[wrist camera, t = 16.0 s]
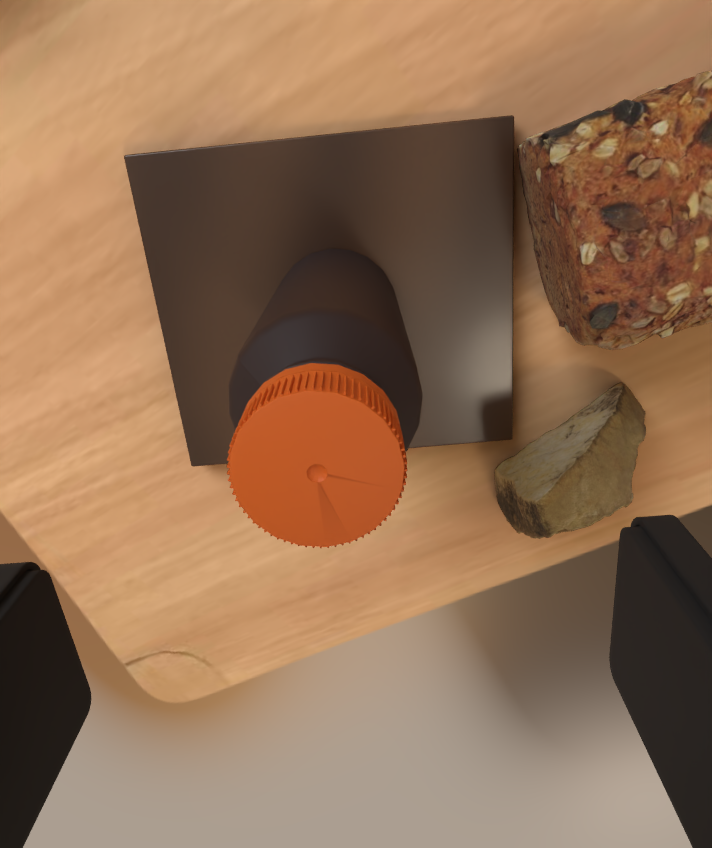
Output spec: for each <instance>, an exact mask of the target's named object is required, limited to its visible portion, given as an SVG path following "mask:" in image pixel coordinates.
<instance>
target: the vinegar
mask: <svg viewBox="0 0 712 848" xmlns="http://www.w3.org/2000/svg"><path fill="white" fill-rule="evenodd" d="M228 393H229V415H230V418H231V420H232V423H233V426H234V429H235V433H234V435H233V437H232V441H231V443H230V445H229V446H230V449H229V451H228V454H229V456H228V458H227V461H229V462H228V464H227V468H229V470H228V472H227V474H228V475H230V477H229V480H228V481H230V482H231V486H230V488H233V489H234V491H233V493H232V494H233V495H235V494H236V500H235V501H238V502H239V504H240V505H239V507H242V508H243V509H244V511H243V513H245V512H246V513H247V514H248V518H251V519H252V520H253V523H256V524H257V525H259V527H258V528H260V527H262V528H263V529H265V530H264V532H266V531H268V532H269V533H270V534H271V536H272V535H273V536H275V537H277V539H279V538H280V539H283V540H284V542H286V541H289V542H291V544H293V543H295V544H298V546H300V545H303V546H305V547H307V546H312V547H313V548H314V547H315V546H320V548H322V547H328V548H329V546H333V545H334V546H335V547H336V545H337V544H342V545H343V544H344V543H346V542H349V543H350V542H351V541H353V540H356V541H357V538H359V537H362V538H364V535H365V534H366V533H368V534H370V531H372V530H376V527H377V526H378V525H380V526H381V522H382V521H383V520H384V521H386V517H387V516H388V515H389V516H391V512H392V510H395V504H399V502H398V498H402V496H401V491H402V492H403V491H404V487H403V485H406V482H405V478H407V474H406V471H407V465H406V464H407V460H406V451H407V450H408V447H409V445H410V443H411V441H412V439H413V437H414V435H415V433H416V431H417V429H418V427H419V424H420V416H421V407H422V398H423V392H422V388H421V384H420V379H419V375H418V370H417V366H416V362H415V359H414V356H413V352H412V349H411V345H410V342H409V339H408V335H407V332H406V329H405V325H404V322H403V318H402V315H401V312H400V308H399V305H398V302H397V298H396V295H395V292H394V288H393V286H392V284H391V283H390V281H389V279H388V278H387V276H386V274H385V273H384V271H383V270H382V269H381V268H380V267H379V266H378V265H376V264H375V263H374V262H373V261H372V260H371V259H369V258H368V257H366V256H363V255H361V254H359V253H356V252H354V251H351V250H344V249H326V250H322V251H319V252H315V253H311V254H309V255H308V256H306V257H305V258H303V259H302V260H300V261H299V262H297V263H296V264H294V266H293V267H292V268H291V269H290V271H289V272H288V273H287V275H286V276H285V277H284V278H283V280H282V281H281V283H280V285H279V287H278V288H277V290H276V292H275V293H274V295H273V297H272V298H271V300H270V302H269V303H268V305H267V307H266V308H265V310H264V312H263V313H262V315H261V317H260V318H259V320H258V322H257V324H256V325H255V327H254V329H253V330H252V332H251V334H250V335H249V337H248V339H247V340H246V342H245V344H244V345H243V347H242V349H241V350H240V352H239V354H238V356H237V359H236V362H235V365H234V368H233V371H232V374H231V377H230V380H229V384H228Z"/></svg>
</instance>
